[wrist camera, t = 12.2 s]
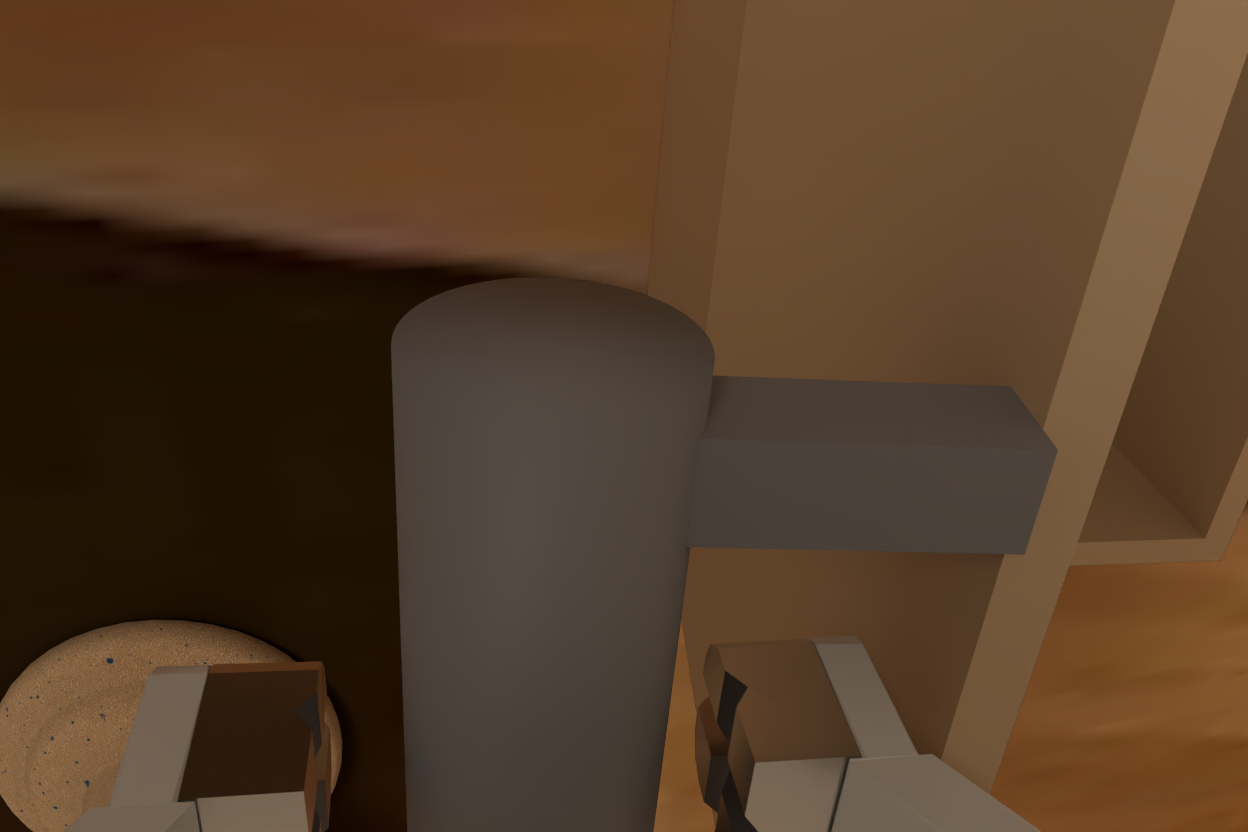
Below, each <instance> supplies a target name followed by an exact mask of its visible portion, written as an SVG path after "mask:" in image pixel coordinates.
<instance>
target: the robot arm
mask: <svg viewBox="0 0 1248 832" xmlns="http://www.w3.org/2000/svg"><path fill="white" fill-rule="evenodd" d="M703 676H704V680H705V683H706V687H707V690H708V694H709V696H708V697H707V698H706V699H705V700H704V701H703V702H702V703H701V704H700V705H699V706H698V709H697V718H696V727H695V758H696V765H697V772H698V778H699V783H700V787H701V791H702V795H703V799H704V802H705V803H706V804H707V805H709V806H710V807H711V808H712V809H713V810H714V811H716V812H717V813H718V816H717V823H716V829H715V832H1042V831H1040V830H1039V829H1038V828H1036V827H1035V826H1033V825H1032V824H1031V823H1029V822H1028V821H1026V820H1025V819H1024V818H1022V817H1021V816H1019V815H1018V814H1016V813H1015V812H1014V811H1012V810H1011V809H1009V808H1008V807H1007V806H1005V805H1004V804H1002V803H1001V802H1000V801H998V800H997V799H995V798H994V797H992V796H991V795H990V794H988V793H987V792H985V791H984V790H983V789H981V788H980V787H978V786H977V785H975V784H974V783H973V782H971V781H970V780H968V779H967V778H966V777H964V776H963V775H961V774H960V773H959V772H957V771H956V770H954V769H953V768H951V767H950V766H949V765H947V764H946V763H944V762H943V761H942V760H940V759H939V758H937V757H936V756H935V755H933V754H926V755H918V753H917V751H916V749H915V747H914V745H913V743H912V741H911V739H910V737H909V735H908V733H907V731H906V729H905V727H904V725H903V723H902V721H901V719H900V717H899V715H898V713H897V711H896V708H895V706H894V704H893V702H892V700H891V698H890V696H889V694H888V692H887V690H886V688H885V686H884V684H883V682H882V680H881V678H880V676H879V674H878V672H877V670H876V668H875V666H874V664H873V662H872V660H871V658H870V656H869V654H868V652H867V650H866V648H865V646H864V644H863V642H862V641H861V640H860V639H858V638H857V637H856V636H855V635H849V636H833V637H817V638H807V639H806V640H804V639H792V640H773V641H754V642H735V643H717V644H710V646H709V648H708V651H707V653H706V657H705V663H704V669H703ZM326 698H327V687H326V678H325V669H324V665H323V663H322V662H282V663H237V664H214V665H213V666H210V665H203V666H156V668H155V669H154V670H153V672H152V673H151V674H150V676H149V677H148V678H147V681H146V684H145V687H144V690H143V694H142V697H141V700H140V703H139V707H138V710H137V713H136V716H135V720H134V723H133V726H132V729H131V733H130V736H129V739H128V742H127V746H126V749H125V752H124V755H123V758H122V762H121V765H120V768H119V771H118V775H117V778H116V781H115V784H114V788H113V791H112V794H111V797H110V801H109V804H108V807H98V808H89V809H88V810H87V811H86V812H85V813H84V814H83V815H82V816H80V817H79V818H78V819H77V820H76V821H75V822H74V823H72V824H71V825H70V826H69V827H68V828H67V829H66V830H65V831H63V832H325V831H326V830H327V828H328V826H329V813H330V801H331V773H332V766H331V738H330V727H329V726H328V725H327V724H326V723H325V722H324V718H325V708H326Z"/></svg>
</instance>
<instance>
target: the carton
mask: <svg viewBox="0 0 1248 832" xmlns="http://www.w3.org/2000/svg"><path fill="white" fill-rule="evenodd" d="M746 5H747V0H675V3H674V13H673V24H672V35H671V45H670V56H669V67H668V78H667V88H666V99H665V110H664V121H663V131H662V142H661V153H660V163H659V174H658V185H657V196H656V206H655V217H654V228H653V238H652V249H651V260H650V271H649V281H648V292H647V296H650V297H653V298H655V299H658V300H660V301H662V302H664V303H666V304H668V305H670V306H672V307H674V308H676V309H677V310H679V311H681V312H683V313H684V314H686V315H687V316H688V317H690V318H691V319H692V320H694V321H695V322H696V323H697V324H698V325H699V326H700V327H701V328H702V329H703V330H704V332H705V333H706V326H707V318H708V310H709V302H710V294H711V286H712V278H713V270H714V262H715V254H716V246H717V238H718V230H719V222H720V214H721V206H722V198H723V190H724V181H725V173H726V165H727V157H728V149H729V141H730V133H731V125H732V117H733V109H734V101H735V93H736V85H737V77H738V69H739V61H740V53H741V45H742V37H743V29H744V21H745V13H746ZM1247 500H1248V53H1247V56H1246V59H1245V62H1244V65H1243V68H1242V70H1241V73H1240V76H1239V79H1238V82H1237V85H1236V88H1235V91H1234V94H1233V96H1232V99H1231V102H1230V105H1229V108H1228V111H1227V114H1226V117H1225V119H1224V122H1223V125H1222V128H1221V131H1220V134H1219V137H1218V140H1217V142H1216V145H1215V148H1214V151H1213V154H1212V157H1211V160H1210V163H1209V165H1208V168H1207V171H1206V174H1205V177H1204V180H1203V183H1202V186H1201V188H1200V191H1199V194H1198V197H1197V200H1196V203H1195V206H1194V209H1193V212H1192V214H1191V217H1190V220H1189V223H1188V226H1187V229H1186V232H1185V235H1184V237H1183V240H1182V243H1181V246H1180V249H1179V252H1178V255H1177V258H1176V260H1175V263H1174V266H1173V269H1172V272H1171V275H1170V278H1169V281H1168V283H1167V286H1166V289H1165V292H1164V295H1163V298H1162V301H1161V304H1160V306H1159V309H1158V312H1157V315H1156V318H1155V321H1154V324H1153V327H1152V330H1151V332H1150V335H1149V338H1148V341H1147V344H1146V347H1145V350H1144V353H1143V355H1142V358H1141V361H1140V364H1139V367H1138V370H1137V373H1136V376H1135V378H1134V381H1133V384H1132V387H1131V390H1130V393H1129V396H1128V399H1127V401H1126V404H1125V407H1124V410H1123V413H1122V416H1121V419H1120V422H1119V424H1118V427H1117V430H1116V433H1115V436H1114V439H1113V442H1112V445H1111V448H1110V450H1109V453H1108V456H1107V459H1106V462H1105V465H1104V468H1103V471H1102V473H1101V476H1100V479H1099V482H1098V485H1097V488H1096V491H1095V494H1094V496H1093V499H1092V502H1091V505H1090V508H1089V511H1088V514H1087V517H1086V519H1085V522H1084V525H1083V528H1082V531H1081V534H1080V537H1079V540H1078V542H1077V545H1076V548H1075V551H1074V554H1073V557H1072V560H1071V563H1070V566H1087V565H1114V564H1142V563H1170V562H1197V561H1221V560H1222V558H1223V556H1224V553H1225V551H1226V549H1227V546H1228V544H1229V542H1230V539H1231V537H1232V535H1233V532H1234V530H1235V528H1236V526H1237V523H1238V521H1239V519H1240V516H1241V514H1242V512H1243V509H1244V507H1245V505H1246V502H1247Z"/></svg>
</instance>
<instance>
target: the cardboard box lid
mask: <svg viewBox="0 0 1248 832" xmlns="http://www.w3.org/2000/svg"><path fill="white" fill-rule="evenodd" d="M1247 53H1248V0H747V5H746V13H745V21H744V29H743V37H742V45H741V53H740V61H739V69H738V77H737V85H736V93H735V101H734V109H733V117H732V125H731V133H730V141H729V149H728V157H727V165H726V173H725V181H724V190H723V198H722V206H721V214H720V222H719V230H718V238H717V246H716V254H715V262H714V270H713V278H712V286H711V294H710V302H709V310H708V318H707V326H706V333H705V332H704V330H703V329H702V328H701V327H700V326H699V325H698V324H697V323H696V322H695V321H694V320H692V319H691V318H690V317H688V316H687V315H686V314H684V313H683V312H681V311H679V310H677V309H676V308H674V307H672V306H670V305H668V304H666V303H664V302H662V301H660V300H658V299H655V298H653V297H650V296H647V295H645V294H642V293H639V292H635V291H632V290H629V289H625V288H621V287H617V286H613V285H609V284H603V283H597V282H592V281H584V280H576V279H565V278H541V277H532V278H511V279H500V280H493V281H486V282H480V283H475V284H471V285H466V286H462V287H459V288H455V289H452V290H449V291H446V292H444V293H441V294H438V295H436V296H434V297H432V298H430V299H428V300H426V301H424V302H422V303H420V304H419V305H417V306H416V307H414V308H413V309H411V310H410V311H409V312H408V313H407V314H406V315H405V316H404V317H403V318H402V319H401V320H400V322H399V323H398V324H397V326H396V327H395V330H394V332H393V335H392V341H391V360H392V390H393V419H394V449H395V479H396V508H397V538H398V567H399V597H400V626H401V656H402V686H403V715H404V745H405V774H406V804H407V832H653V830H654V822H655V814H656V807H657V799H658V791H659V784H660V776H661V768H662V761H663V753H664V745H665V738H666V730H667V723H668V715H669V707H670V700H671V692H672V684H673V677H674V669H675V661H676V654H677V646H678V638H679V631H680V623H681V619H682V625H683V631H684V638H685V644H686V650H687V656H688V662H689V669H690V675H691V681H692V687H693V693H694V700H695V706H696V712H697V709H698V706H699V705H700V704H701V703H702V702H703V701H704V700H705V699H706V698H707V697H708V696H709V694H708V690H707V687H706V683H705V680H704V676H703V669H704V663H705V657H706V653H707V651H708V648H709V646H710V644H717V643H735V642H754V641H773V640H792V639H804V640H806V639H807V638H817V637H833V636H849V635H855V636H856V637H857V638H858V639H860V640H861V641H862V642H863V644H864V646H865V648H866V650H867V652H868V654H869V656H870V658H871V660H872V662H873V664H874V666H875V668H876V670H877V672H878V674H879V676H880V678H881V680H882V682H883V684H884V686H885V688H886V690H887V692H888V694H889V696H890V698H891V700H892V702H893V704H894V706H895V708H896V711H897V713H898V715H899V717H900V719H901V721H902V723H903V725H904V727H905V729H906V731H907V733H908V735H909V737H910V739H911V741H912V743H913V745H914V747H915V749H916V751H917V753H918V755H926V754H933V755H935V756H936V757H937V758H939V759H940V760H942V761H943V762H944V763H946V764H947V765H949V766H950V767H951V768H953V769H954V770H956V771H957V772H959V773H960V774H961V775H963V776H964V777H966V778H967V779H968V780H970V781H971V782H973V783H974V784H975V785H977V786H978V787H980V788H981V789H983V790H984V791H985V792H987V793H988V794H990V793H991V790H992V787H993V784H994V781H995V778H996V776H997V773H998V770H999V767H1000V764H1001V761H1002V758H1003V755H1004V753H1005V750H1006V747H1007V744H1008V741H1009V738H1010V735H1011V732H1012V730H1013V727H1014V724H1015V721H1016V718H1017V715H1018V712H1019V709H1020V707H1021V704H1022V701H1023V698H1024V695H1025V692H1026V689H1027V686H1028V684H1029V681H1030V678H1031V675H1032V672H1033V669H1034V666H1035V663H1036V660H1037V658H1038V655H1039V652H1040V649H1041V646H1042V643H1043V640H1044V637H1045V635H1046V632H1047V629H1048V626H1049V623H1050V620H1051V617H1052V614H1053V612H1054V609H1055V606H1056V603H1057V600H1058V597H1059V594H1060V591H1061V589H1062V586H1063V583H1064V580H1065V577H1066V574H1067V571H1068V568H1069V566H1070V563H1071V560H1072V557H1073V554H1074V551H1075V548H1076V545H1077V542H1078V540H1079V537H1080V534H1081V531H1082V528H1083V525H1084V522H1085V519H1086V517H1087V514H1088V511H1089V508H1090V505H1091V502H1092V499H1093V496H1094V494H1095V491H1096V488H1097V485H1098V482H1099V479H1100V476H1101V473H1102V471H1103V468H1104V465H1105V462H1106V459H1107V456H1108V453H1109V450H1110V448H1111V445H1112V442H1113V439H1114V436H1115V433H1116V430H1117V427H1118V424H1119V422H1120V419H1121V416H1122V413H1123V410H1124V407H1125V404H1126V401H1127V399H1128V396H1129V393H1130V390H1131V387H1132V384H1133V381H1134V378H1135V376H1136V373H1137V370H1138V367H1139V364H1140V361H1141V358H1142V355H1143V353H1144V350H1145V347H1146V344H1147V341H1148V338H1149V335H1150V332H1151V330H1152V327H1153V324H1154V321H1155V318H1156V315H1157V312H1158V309H1159V306H1160V304H1161V301H1162V298H1163V295H1164V292H1165V289H1166V286H1167V283H1168V281H1169V278H1170V275H1171V272H1172V269H1173V266H1174V263H1175V260H1176V258H1177V255H1178V252H1179V249H1180V246H1181V243H1182V240H1183V237H1184V235H1185V232H1186V229H1187V226H1188V223H1189V220H1190V217H1191V214H1192V212H1193V209H1194V206H1195V203H1196V200H1197V197H1198V194H1199V191H1200V188H1201V186H1202V183H1203V180H1204V177H1205V174H1206V171H1207V168H1208V165H1209V163H1210V160H1211V157H1212V154H1213V151H1214V148H1215V145H1216V142H1217V140H1218V137H1219V134H1220V131H1221V128H1222V125H1223V122H1224V119H1225V117H1226V114H1227V111H1228V108H1229V105H1230V102H1231V99H1232V96H1233V94H1234V91H1235V88H1236V85H1237V82H1238V79H1239V76H1240V73H1241V70H1242V68H1243V65H1244V62H1245V59H1246V56H1247ZM712 811H713V818H714V824H715V829H716V823H717V816H718V813H717V812H716V811H714V810H713V809H712Z"/></svg>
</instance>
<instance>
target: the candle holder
mask: <svg viewBox="0 0 1248 832" xmlns="http://www.w3.org/2000/svg"><path fill="white" fill-rule="evenodd" d="M282 662H296V661H295V660H293V659H292V658H291V657H289V656H288V655H287V654H285V653H284V652H282V651H281V650H279V649H277V648H275V647H273V646H271V645H270V644H268V643H266V642H264V641H262V640H260V639H257V638H255V637H252V636H249V635H247V634H244V633H242V632H239V631H236V630H232V629H228V628H224V627H220V626H217V625H213V624H207V623H200V622H192V621H185V620H145V621H134V622H125V623H120V624H116V625H111V626H107V627H102V628H98V629H95V630H92V631H89V632H87V633H84V634H81V635H78V636H75V637H73V638H71V639H69V640H67V641H65V642H63V643H61V644H59V645H57V646H55V647H54V648H52V649H50V650H48V651H47V652H46V653H44V654H43V655H42V656H40V657H39V658H38V659H36V660H35V661H34V662H32V663H31V664H30V665H29V666H28V667H27V668H26V669H25V670H24V671H23V673H22V674H21V675H20V676H19V677H18V678H17V679H16V680H15V681H14V682H13V683H12V684H11V686H10V688H9V689H8V691H7V693H6V694H5V696H4V698H3V699H2V701H1V703H0V795H1V796H2V798H3V799H4V801H5V802H6V804H7V805H8V806H9V808H10V809H11V811H12V812H13V813H14V814H15V815H16V816H17V817H18V818H19V819H20V820H21V821H22V822H23V823H24V824H25V825H26V826H27V827H28V828H29V829H31V830H32V831H33V832H63V831H65V830H66V829H67V828H68V827H69V826H70V825H71V824H72V823H74V822H75V821H76V820H77V819H78V818H79V817H80V816H82V815H83V814H84V813H85V812H86V811H87V810H88V809H89V808H98V807H108V804H109V801H110V797H111V794H112V791H113V788H114V784H115V781H116V778H117V775H118V771H119V768H120V765H121V762H122V758H123V755H124V752H125V749H126V746H127V742H128V739H129V736H130V733H131V729H132V726H133V723H134V720H135V716H136V713H137V710H138V707H139V703H140V700H141V697H142V694H143V690H144V687H145V684H146V681H147V678H148V677H149V676H150V674H151V673H152V672H153V670H154V669H155V668H156V666H203V665H210V666H213V665H214V664H237V663H282ZM324 722H325V723H326V724H327V725H328V726H329V727H330V738H331V766H332V773H331V794H332V792H333V790H334V788H335V786H336V782H337V778H338V775H339V771H340V767H341V762H342V736H341V731H340V726H339V721H338V717H337V715H336V712H335V710H334V708H333V705H332V703H331V700H330V699H329V697H328V696H327V698H326V708H325V718H324Z"/></svg>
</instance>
